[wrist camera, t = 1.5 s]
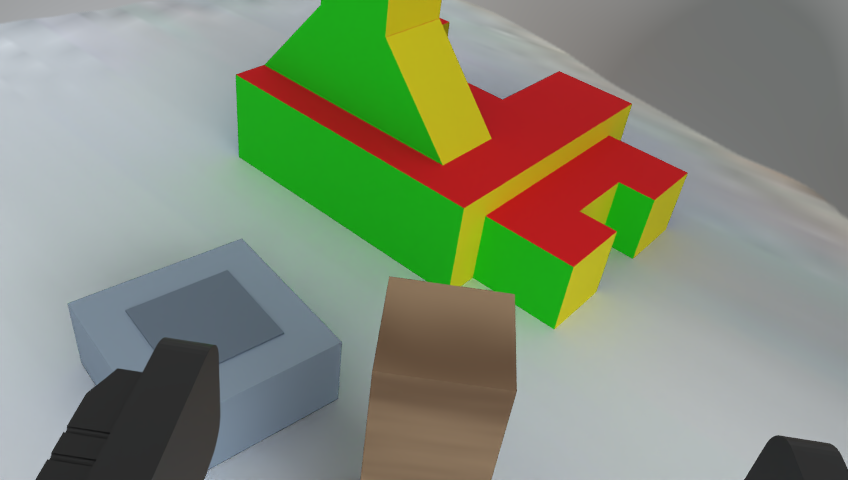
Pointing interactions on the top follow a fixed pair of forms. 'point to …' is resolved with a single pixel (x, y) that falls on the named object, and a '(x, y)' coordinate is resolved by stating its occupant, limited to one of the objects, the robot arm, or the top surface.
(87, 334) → the plinth
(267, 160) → the building blocks toy
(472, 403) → the pillar
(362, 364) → the top surface
